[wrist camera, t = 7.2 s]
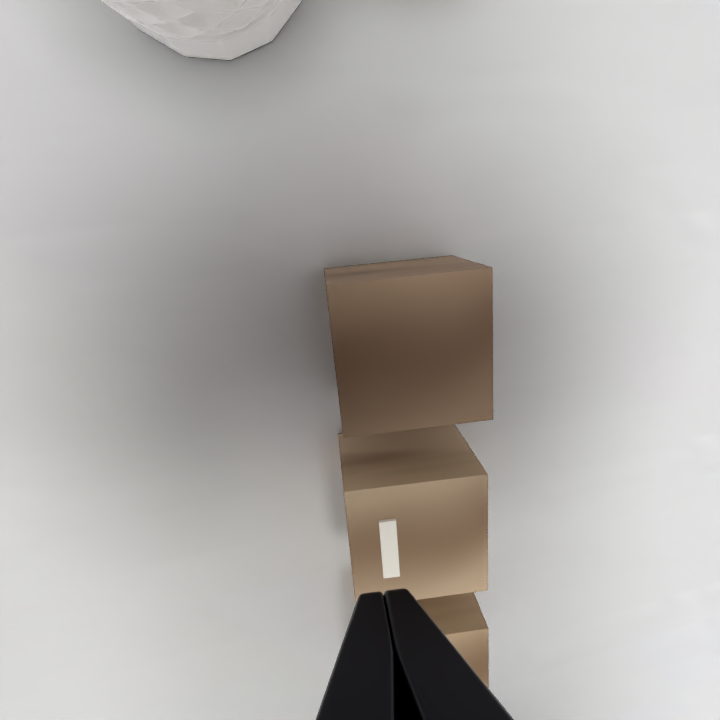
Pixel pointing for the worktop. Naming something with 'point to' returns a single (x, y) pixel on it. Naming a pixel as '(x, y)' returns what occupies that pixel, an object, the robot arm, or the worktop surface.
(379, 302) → the plain block
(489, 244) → the worktop surface
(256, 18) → the white cup
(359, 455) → the tan marked cube block
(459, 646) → the block one
